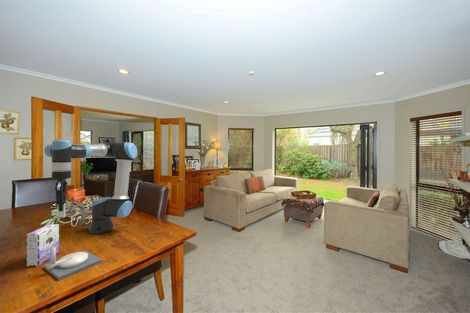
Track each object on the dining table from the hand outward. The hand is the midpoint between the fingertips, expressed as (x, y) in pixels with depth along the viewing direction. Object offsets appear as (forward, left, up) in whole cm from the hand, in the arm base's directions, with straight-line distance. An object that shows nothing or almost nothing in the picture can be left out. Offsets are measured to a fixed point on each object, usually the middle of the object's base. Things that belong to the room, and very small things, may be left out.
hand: (61, 216), depth 104 cm
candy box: (-13, -3, -25) cm, 28 cm away
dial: (+6, +1, -23) cm, 24 cm away
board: (+6, +3, -24) cm, 25 cm away
